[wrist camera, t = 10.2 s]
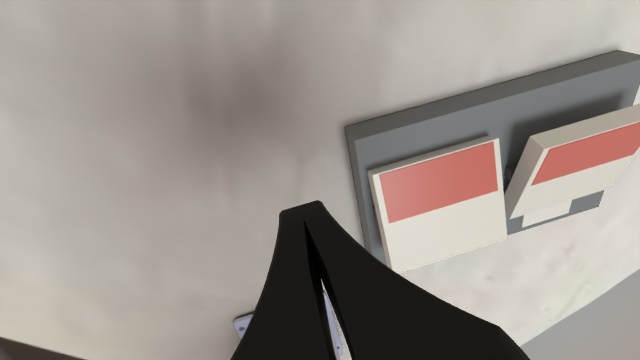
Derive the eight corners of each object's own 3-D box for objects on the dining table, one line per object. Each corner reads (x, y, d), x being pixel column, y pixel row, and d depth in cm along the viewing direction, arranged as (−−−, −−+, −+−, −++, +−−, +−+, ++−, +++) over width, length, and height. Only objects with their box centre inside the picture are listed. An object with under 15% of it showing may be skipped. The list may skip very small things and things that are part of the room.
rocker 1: (496, 231, 24) (508, 239, 23) (387, 265, 23) (393, 275, 22) (486, 135, 22) (499, 138, 21) (366, 169, 21) (372, 175, 20)
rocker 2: (596, 176, 26) (610, 188, 25) (499, 206, 25) (509, 220, 25) (651, 100, 21) (670, 112, 20) (530, 136, 20) (544, 150, 19)
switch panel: (578, 192, 30) (605, 210, 27) (367, 258, 28) (378, 282, 26) (618, 50, 23) (658, 59, 21) (344, 126, 21) (357, 145, 19)
